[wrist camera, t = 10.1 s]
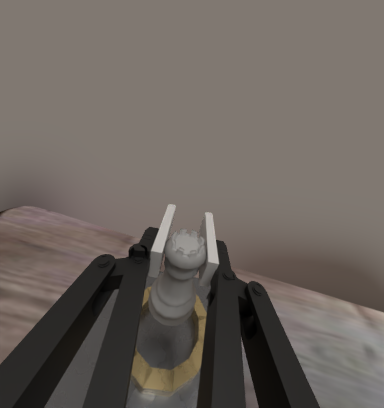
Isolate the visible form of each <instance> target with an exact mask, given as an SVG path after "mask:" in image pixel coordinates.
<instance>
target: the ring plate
mask: <svg viewBox="0 0 384 408" xmlns="http://www.w3.org/2000/svg"><path fill="white" fill-rule="evenodd" d="M162 273H163V272H159V275H161V274H162ZM159 275H158V276H159ZM156 279H157V278H156V277H150V276H147V278H146V286H145V292H144V298H143V304H142V311H141V317H140V323H139V329H138V335H137V342H136V348H135V354H134V360H133V367H132V373H131V379H130V385H129V391H128V398H127V404H126V408H197V398H198V389H199V380H200V371H201V361H202V352H203V343H204V333H205V324H206V315H207V306H208V299H206V298H207V295H208V293H209V291H210V289H211V286H210V285H209V287H205V286H200V285H199V278H193V283H194V286H195V289H196V302H195V306H194V309H193V311H192V314H191V316H190V317H189V318H188V319H187V320H186V321H185V322H184V323H182V324H179V325H176V326H168V325H163V324H161V323H160V322H158V321H157V320H156V319H154V317H153V315H152V313H151V312H150V310H149V303H148V298H149V294H150V291H151V287H152V284H153V283H154V281H155V280H156ZM118 291H119V289H117V290H114V292H113V293H112V295H111V297H110V298H109V300H108V302H107V303H106V305H105V307H104V308H103V310H102V312H101V313H100V315H99V317H98V318H97V320H96V322H95V323H94V325H93V327H92V328H91V330H90V332H89V333H88V335H87V337H86V338H85V340H84V342H83V343H82V345H81V347H80V348H79V350H78V352H77V353H76V355H75V357H74V358H73V360H72V362H71V363H70V365H69V367H68V368H67V370H66V372H65V373H64V375H63V377H62V378H61V380H60V382H59V383H58V385H57V387H56V388H55V390H54V392H53V394H52V396H51V397H50V399H49V401H48V403H47V405H46V407H45V408H82V407H83V404H84V400H85V397H86V394H87V391H88V387H89V384H90V381H91V378H92V375H93V371H94V368H95V365H96V362H97V359H98V355H99V352H100V349H101V346H102V342H103V339H104V336H105V333H106V330H107V326H108V323H109V320H110V317H111V313H112V310H113V307H114V304H115V301H116V297H117V294H118Z"/></svg>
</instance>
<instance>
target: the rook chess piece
mask: <svg viewBox="0 0 384 408" xmlns="http://www.w3.org/2000/svg"><path fill="white" fill-rule="evenodd" d="M186 232H187V229H180V233H179V234H178V233H177V232H176V231H175V232H174V233H173V234H172V237H171V238H169V239H168V240H167V241H166V243H165V246H164V253H165V256H166V257H165V261H164V265H165V270H164V272H163V273H162V274H161V275H159V276H158V278H157V279H156V280H155V281H154V283H153V284H152V287H151V291H150V294H149V298H148V303H149V310H150V312H151V313H152V315H153V317H154V319H156V320H157V321H158V322H160V323H161V324H163V325H168V326H176V325H179V324H182V323H184V322H185V321H186V320H187V319H188V318H189V317H190V316H191V314H192V311H193V309H194V306H195V302H196V289H195V286H194V283H193V277H194V276H195V275H196V274H197V272H198V270H199V266H201V265H202V264H203V263H204V262H205V260H206V258H207V252H206V249H205V246H204V243H205V240H204V238H203V236H202V237H199V239H198V238H197V234H198V232H196V231H194V230H192V233H191V234H188V233H186Z"/></svg>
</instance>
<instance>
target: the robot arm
mask: <svg viewBox="0 0 384 408" xmlns="http://www.w3.org/2000/svg"><path fill="white" fill-rule="evenodd" d="M175 208H176V205H171V204H169V205H168V208H167V210H166V213H165V216H164V218H163V221H162V224H161V226H160V229H158V228H153V227H149V228H148V229H147V230H145V232H144V234H143V236H142V239H141V240H140V242H139V243H138V244H134V245H133V246H131V247H130V249H129V257H126V258H120V259H115V258H114V256H112V255H110V254H104V255H100V256H98V257H97V258H95V259H94V260H93V261H92V262H91V264H90V265H89V266H88V267H87V268H86V269H85V270H84V271H83V273H82V274H81V275H80V276H79V277H78V278H77V279H76V280H75V281H74V283H73V284H72V285H71V286H70V287H69V288H68V289H67V290H66V292H65V293H64V294H63V295H62V296H61V297H60V298H59V299H58V301H57V302H56V303H55V304H54V305H53V306H52V307H51V308H50V310H49V311H48V312H47V313H46V314H45V315H44V316H43V317H42V319H41V320H40V321H39V322H38V323H37V324H36V325H35V326H34V327H33V329H32V330H31V331H30V332H29V333H28V334H27V335H26V336H25V338H24V339H23V340H22V341H21V342H20V343H19V344H18V345H17V347H16V348H15V349H14V350H13V351H12V352H11V353H10V354H9V356H8V357H7V358H6V359H5V360H4V361H3V362H2V363H1V365H0V408H44V407H45V405H46V403H47V402H48V400H49V398H50V397H51V395H52V393H53V392H54V390H55V388H56V387H57V385H58V383H59V382H60V380H61V378H62V377H63V375H64V373H65V372H66V370H67V368H68V367H69V365H70V363H71V362H72V360H73V358H74V357H75V355H76V353H77V352H78V350H79V348H80V347H81V345H82V343H83V342H84V340H85V338H86V337H87V335H88V333H89V332H90V330H91V328H92V327H93V325H94V323H95V322H96V320H97V318H98V317H99V315H100V313H101V312H102V310H103V308H104V307H105V305H106V303H107V302H108V300H109V298H110V297H111V295H112V293H113V292H114V290H117V289H119V291H118V294H117V297H116V301H115V304H114V307H113V310H112V313H111V317H110V320H109V323H108V326H107V330H106V333H105V336H104V339H103V342H102V346H101V349H100V352H99V355H98V359H97V362H96V365H95V368H94V371H93V375H92V378H91V381H90V384H89V387H88V391H87V394H86V397H85V400H84V404H83V407H82V408H126V404H127V398H128V391H129V385H130V379H131V373H132V367H133V360H134V354H135V348H136V342H137V335H138V329H139V323H140V317H141V311H142V304H143V298H144V292H145V286H146V278H147V276H150V277H156V278H158V275H159V272H160V268H161V264H162V261H163V257H164V246H165V243H166V241H167V240H168V239H169V235H170V231H171V228H172V223H173V218H174V213H175ZM202 236H203V238H204V240H205V243H204V246H205V249H206V252H207V258H206V260H205V262H204V263H203V264H202V265H201V266H199V285H200V286H205V287H209V285H210V286H211V289H210V291H209V293H208V295H207V298H206V299H208V306H207V315H206V324H205V333H204V343H203V352H202V361H201V371H200V380H199V389H198V398H197V408H246V404H245V390H244V375H243V361H242V347H241V337H242V341H243V345H244V349H245V353H246V357H247V361H248V365H249V369H250V373H251V377H252V381H253V385H254V389H255V393H256V397H257V401H258V405H259V408H320V407H319V404H318V402H317V400H316V398H315V396H314V394H313V392H312V389H311V387H310V385H309V383H308V381H307V379H306V376H305V374H304V372H303V370H302V368H301V366H300V363H299V361H298V359H297V357H296V355H295V353H294V350H293V348H292V346H291V344H290V342H289V340H288V337H287V335H286V333H285V331H284V329H283V327H282V324H281V322H280V320H279V318H278V316H277V314H276V311H275V309H274V307H273V305H272V303H271V301H270V298H269V296H268V294H267V292H266V290H265V289H264V287H263V286H262V285H261V284H259V283H258V282H255V281H251V282H249V283H248V284H247V283H245V282H243V281H241V280H240V279H238V278H237V277H236V275H235V273H234V272H233V271H232V270H231V266H230V261H229V257H228V252H227V247H226V245H225V243H224V242H223V241H219V240H216V238H215V231H214V224H213V216H212V213H208V212H205V215H204V218H203V221H202V224H201V227H200V231H199V237H202Z"/></svg>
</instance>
